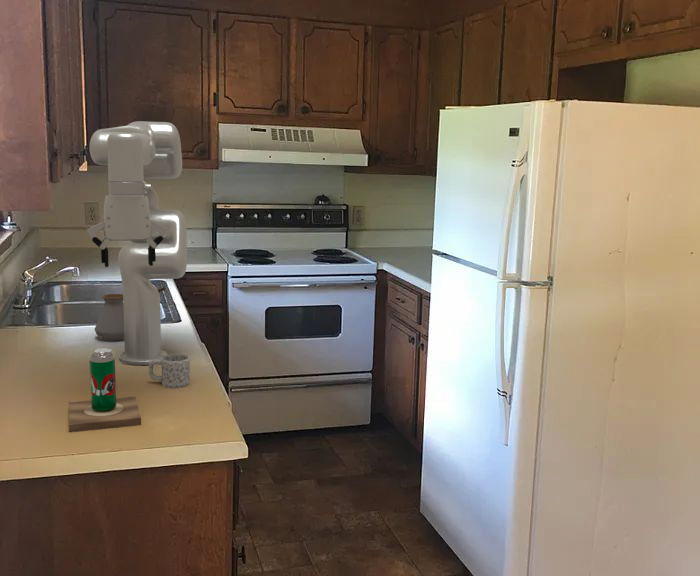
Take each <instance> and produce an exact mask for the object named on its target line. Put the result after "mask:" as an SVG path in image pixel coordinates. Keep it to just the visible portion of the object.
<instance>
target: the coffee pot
mask: <svg viewBox="0 0 700 576" xmlns="http://www.w3.org/2000/svg"><path fill="white" fill-rule="evenodd" d="M156 289H157V290H158V292H159V294H160V292H164V291H165V292H166V294H168V291H167V289H166V287H162V288H156ZM101 297H102V299H103V300H104V305H103V307H102V310H101V313H100V315H99V316H98V320H97V323H96V325H95V327H94V333H95V334H96V336H98V337H99V338H101V339H102V340H103V341H107V342H116V341H115V340H119V341H122V340H121V339H124V340H125V336H124V306H123V293H122V294H121V293H109V294H104V295H102V296H101Z"/></svg>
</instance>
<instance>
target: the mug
mask: <svg viewBox="0 0 700 576" xmlns="http://www.w3.org/2000/svg"><path fill="white" fill-rule="evenodd" d="M190 359H191V358H190V356H189V354H188V355H187V354H183V353H172V354H167V355H166V356H163V357H162V358H161V359H160V360H153V361H151V362H150V363H149V364H148V373H149V375H148V376H149V378H150V379H152V380H155V381H158V382H161V385H162V387H164V388H167V387H169V388H168V389H180V388H179V387H181V388H185V386H186V387H188V386H189V385H190V384H191V375H190V373H191V371H190V369H191V367H190V366H191V365H190V364H191V363H190ZM156 365H161V375H155V374H154V366H156ZM187 385H188V386H187Z"/></svg>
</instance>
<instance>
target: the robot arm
mask: <svg viewBox="0 0 700 576" xmlns="http://www.w3.org/2000/svg"><path fill="white" fill-rule="evenodd" d="M89 154H90V157H91V160H92V161H93V163H95V164H96V165H100V166H107V171H108V172H107V173H108V174H107V175H108V177H107V178H108V180H107V181H108V195H105V198H104V203H103V220H102V221H100V222H98V223H97V224H95V225H92V226H91V227H89V228H87V230H86V232H87V234H88V236H89V237H90V239H91V240H92V242H93V243H94V244H95V245H96V246H97V247H98V248H99V249H100V255H101V256H100V257H101V258H100V259H101V260H100V261H101V264H104V267H105V268H108V267H110V266H109V248H108V246H109V244H110V243H111V242H112V241H113V242H119V241H120V242H121V241H122V242H125V241H127V242H129V241H130V242H131V243H129V244H126V245H124V246H122V247H121V248H120V249H119V252H118V257H117V258H118V259H117V260H118V266H119V271H120V277H121V283H122V285H121V286H122V295H123V306H124V336H125V339H124V352H122V353H120V354H119V356H118V359H119V361H120V363H123V364H126V365H132V366H135V365H136V366H144V365H146V366H147V365H148V366H149V363H150V362H151V361H153V360H160V359H161V358H162V357H163V356H166V355H168V352H167V351H165V350H162V330H161V329H162V327H161V326H162V324H161V294H160V293H159V292H158V290H157V289H158V288H157V287H156V286H155V285H154V284H153V283H152V281H151V280H175V279H180V278H182V277H184V275H185V274H186V271H187V264H188V261H187V259H188V254H187V253H188V249H187V248H188V245H187V244H188V243H187V242H188V241H187V240H188V237H187V235H188V233H187V221H186V217H185V215H184V214H183V213H182V211H180V210H177V209H163V208H162V209H160V197H159V195H158V193H157V192H156V191H155V189H154V188H153V187H152V186H151V184H149V183H147V182H146V181H144V179H147V180H148V179H150V180H151V179H152V180H153V179H155V180H156V179H157V180H158V179H160V180H172V179H177V178H179V177H180V176H181V174H182V172H183V154H182V143H181V138H180V133H179V130H178V128H177V127H176V126H175V124H173V123H171V122H168V121H142V120H141V121H133V122H130V123H127V125H121V126H116V127H109V128H101V129H97V130H96V131H95V132H93V134H92V135H91V138H90V140H89ZM102 229H103V235H104V238H103V240H101V239H100V238H99V237H97V234H96V232H98V231H101V230H102Z"/></svg>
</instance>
